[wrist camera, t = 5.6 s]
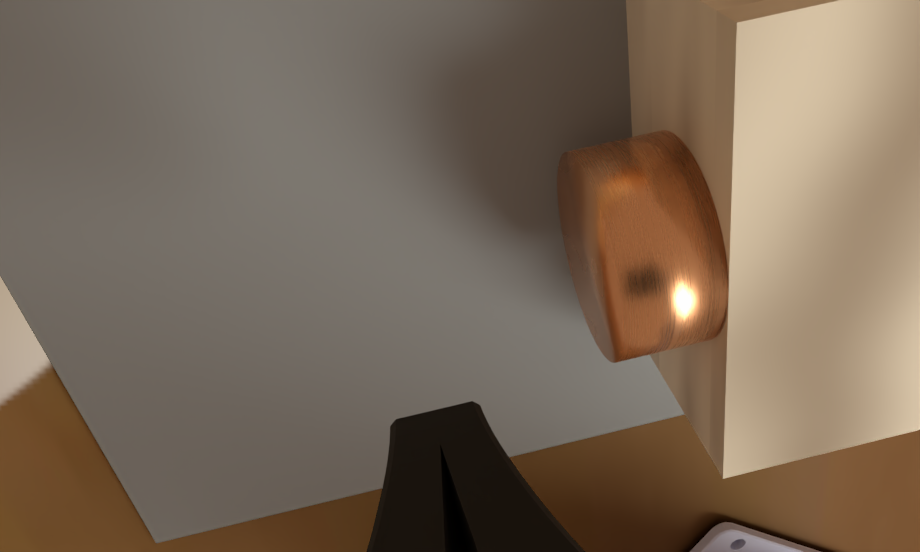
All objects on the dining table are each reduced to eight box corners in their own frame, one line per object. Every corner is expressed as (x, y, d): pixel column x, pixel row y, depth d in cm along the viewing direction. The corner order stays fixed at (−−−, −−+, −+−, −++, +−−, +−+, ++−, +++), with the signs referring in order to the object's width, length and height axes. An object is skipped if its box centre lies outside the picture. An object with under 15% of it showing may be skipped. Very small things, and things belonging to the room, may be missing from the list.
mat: (1107, -311, 15) (1116, -312, 15) (954, 343, 24) (959, 347, 24) (-183, -51, 14) (-189, -49, 14) (157, 537, 23) (156, 543, 23)
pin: (991, 20, 18) (1172, 87, 14) (955, 196, 20) (1101, 292, 16) (548, 118, 17) (617, 215, 13) (566, 286, 20) (629, 407, 16)
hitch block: (906, -105, 16) (1112, -60, 12) (852, 290, 22) (982, 414, 18) (623, -45, 16) (736, 23, 12) (641, 341, 22) (722, 478, 18)
